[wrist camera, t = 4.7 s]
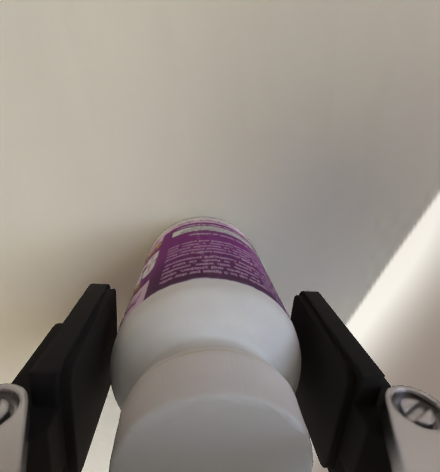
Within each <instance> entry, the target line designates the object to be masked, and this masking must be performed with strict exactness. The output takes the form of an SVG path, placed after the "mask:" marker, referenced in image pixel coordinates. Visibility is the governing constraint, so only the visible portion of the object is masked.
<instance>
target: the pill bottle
mask: <svg viewBox="0 0 440 472" xmlns="http://www.w3.org/2000/svg"><path fill="white" fill-rule="evenodd" d="M300 374H301V350H300V345H299V341H298V337H297V334H296V331H295V328H294V326H293V323H292V321H291V319H290V317H289V315H288V314H287V312H286V310H285V308H284V306H283V304H282V302H281V300H280V299H279V297H278V295H277V293H276V291H275V289H274V287H273V285H272V283H271V281H270V279H269V277H268V275H267V273H266V271H265V269H264V267H263V265H262V263H261V261H260V259H259V257H258V255H257V253H256V251H255V249H254V248H253V246H252V244H251V242H250V241H249V239H248V238H247V237H246V236H245V235H244V234H243V233H242V232H241V231H240V230H239V229H237V228H236V227H235V226H233V225H231V224H229V223H227V222H225V221H223V220H220V219H215V218H206V217H198V218H191V219H186V220H183V221H180V222H178V223H176V224H174V225H172V226H171V227H169V228H168V229H167V230H165V231H164V232H163V233H162V234H161V235H160V236H159V237H158V239H157V240H156V241H155V243H154V244H153V246H152V248H151V250H150V252H149V254H148V257H147V259H146V261H145V264H144V267H143V269H142V271H141V274H140V276H139V279H138V282H137V284H136V287H135V289H134V292H133V294H132V297H131V300H130V302H129V305H128V307H127V310H126V312H125V315H124V317H123V320H122V322H121V325H120V327H119V330H118V333H117V335H116V338H115V341H114V345H113V349H112V353H111V360H110V379H111V385H112V390H113V393H114V396H115V399H116V401H117V404H118V406H119V407H120V409H121V414H120V419H119V424H118V428H117V432H116V436H115V441H114V445H113V450H112V455H111V460H110V467H109V472H311V471H312V465H313V453H312V445H311V441H310V436H309V433H308V431H307V428H306V425H305V422H304V420H303V417H302V414H301V411H300V408H299V405H298V402H297V399H296V396H295V393H296V390H297V387H298V383H299V379H300Z"/></svg>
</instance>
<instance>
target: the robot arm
mask: <svg viewBox="0 0 440 472" xmlns="http://www.w3.org/2000/svg"><path fill="white" fill-rule="evenodd" d="M291 321H292V323H293V326H294V328H295V331H296V334H297V337H298V341H299V345H300V350H301V374H300V379H299V383H298V387H297V390H296V393H295V396H296V399H297V402H298V405H299V408H300V411H301V414H302V417H303V420H304V422H305V425H306V428H307V430H308V433H309V435H310V438H311V440H312V443H313V445H314V448H315V451H316V454H317V456H318V459H319V461H320V464H321V465H322V467H324V468H328V471H329V472H440V402H439V401H438V400H436V399H435V398H433V397H432V396H431V395H429V394H427V393H425V392H423V391H421V390H418V389H415V388H413V387H409V386H403V385H397V386H392V387H391V386H390V384H389V383H388V382H387V381H386V379H385V378H384V377H385V375H384V374H383V373H382V371H381V370H380V369H379V368H378V366H377V365H376V364H375V363H374V362H373V360H372V359H371V358H370V356H369V355H368V354H367V353H366V351H365V350H364V349H363V348H362V346H361V345H360V344H359V342H358V341H357V340H356V339H355V337H354V336H353V335H352V334H351V332H350V331H349V330H348V328H347V327H346V326H345V325H344V323H343V322H342V321H341V320H340V318H339V317H338V316H337V315H336V313H335V312H334V311H333V310H332V308H331V307H330V306H329V305H328V303H327V302H326V301H325V299H324V298H323V297H322V296H321V294H320V293H319V292H309V291H301V292H300V294H299V295H296V296H295V297H294V302H293V308H292V313H291ZM116 335H117V309H116V290H115V289H110V285H109V284H90V285H89V287H88V288H87V290H86V291H85V292H84V294H83V295H82V297H81V298H80V300H79V301H78V302H77V304H76V305H75V307H74V308H73V310H72V311H71V312H70V314H69V315H68V317H67V318H66V320H65V321H64V322H63V323H58V324H56V325H55V326H54V327H53V328H52V329H51V330H50V332H49V333H48V334H47V336H46V337H45V339H44V340H43V341H42V343H41V344H40V345H39V347H38V348H37V349H36V351H35V352H34V354H33V355H32V356H31V358H30V359H29V360H28V362H27V363H26V364H25V366H24V367H23V368H22V370H21V371H20V373H19V374H18V375H17V377H16V378H15V379H14V381H13V382H12V383H11V384H6V383H5V384H0V472H81V471H82V468H83V466H84V463H85V460H86V457H87V454H88V451H89V448H90V445H91V442H92V439H93V436H94V433H95V430H96V427H97V424H98V421H99V418H100V415H101V412H102V409H103V406H104V403H105V400H106V397H107V394H108V391H109V388H110V385H111V379H110V360H111V353H112V349H113V345H114V341H115V338H116Z"/></svg>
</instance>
